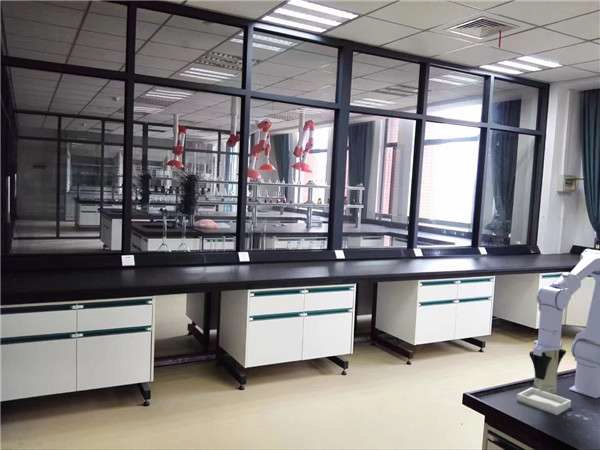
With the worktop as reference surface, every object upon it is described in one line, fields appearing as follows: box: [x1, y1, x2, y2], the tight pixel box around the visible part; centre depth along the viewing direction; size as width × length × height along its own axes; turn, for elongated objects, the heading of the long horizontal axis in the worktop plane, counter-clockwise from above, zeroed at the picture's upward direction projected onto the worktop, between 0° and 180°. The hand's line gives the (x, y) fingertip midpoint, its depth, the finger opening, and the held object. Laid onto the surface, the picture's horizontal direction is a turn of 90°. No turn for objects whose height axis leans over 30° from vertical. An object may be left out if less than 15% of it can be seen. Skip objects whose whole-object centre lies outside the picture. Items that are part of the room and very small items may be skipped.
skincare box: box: [533, 350, 559, 394], centre depth 141 cm, size 6×4×12 cm
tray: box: [516, 386, 572, 416], centre depth 142 cm, size 9×11×2 cm
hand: (545, 375), depth 141 cm, fingers closed on skincare box, 7 cm apart
